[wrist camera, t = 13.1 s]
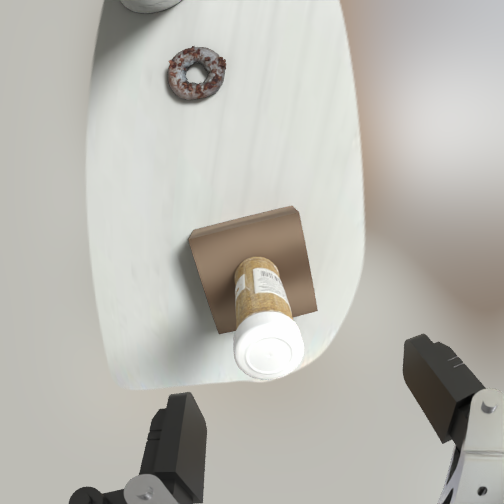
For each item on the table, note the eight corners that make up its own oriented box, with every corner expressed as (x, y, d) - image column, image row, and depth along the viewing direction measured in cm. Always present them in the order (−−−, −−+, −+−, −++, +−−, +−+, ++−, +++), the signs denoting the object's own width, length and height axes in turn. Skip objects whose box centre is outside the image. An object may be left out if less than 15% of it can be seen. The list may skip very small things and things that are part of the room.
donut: (220, 117, 32) (219, 114, 30) (152, 103, 31) (147, 101, 29) (241, 48, 29) (241, 42, 27) (173, 36, 28) (169, 30, 26)
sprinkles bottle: (225, 273, 32) (218, 351, 19) (261, 246, 31) (277, 311, 18) (253, 305, 33) (262, 392, 20) (288, 279, 32) (318, 358, 20)
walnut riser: (193, 229, 34) (188, 239, 31) (292, 205, 34) (298, 212, 30) (220, 316, 38) (218, 334, 34) (310, 295, 37) (317, 310, 34)
